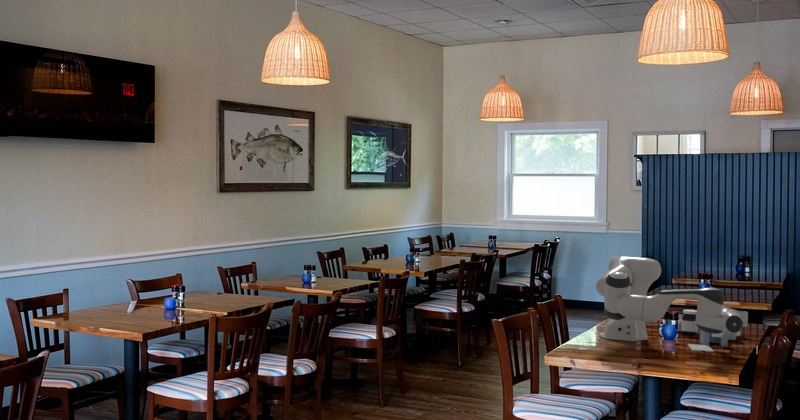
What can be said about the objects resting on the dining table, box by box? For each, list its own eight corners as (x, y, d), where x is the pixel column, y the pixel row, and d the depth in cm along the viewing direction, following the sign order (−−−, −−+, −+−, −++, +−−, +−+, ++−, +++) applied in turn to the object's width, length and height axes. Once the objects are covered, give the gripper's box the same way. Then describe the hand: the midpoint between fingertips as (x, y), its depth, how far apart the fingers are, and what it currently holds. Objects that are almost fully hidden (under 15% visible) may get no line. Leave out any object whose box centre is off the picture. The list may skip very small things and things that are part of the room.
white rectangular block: (716, 329, 347) (714, 303, 352) (711, 336, 356) (710, 311, 361) (725, 330, 346) (724, 304, 351) (721, 337, 355) (719, 311, 360)
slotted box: (703, 345, 365) (703, 328, 365) (699, 341, 375) (700, 324, 375) (727, 346, 363) (728, 329, 363) (723, 342, 373) (723, 325, 373)
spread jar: (695, 336, 389) (696, 312, 389) (671, 333, 395) (672, 310, 395) (700, 332, 399) (701, 309, 399) (677, 330, 405) (678, 307, 405)
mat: (692, 350, 352) (692, 349, 352) (687, 345, 364) (687, 344, 364) (713, 352, 350) (713, 350, 350) (708, 346, 362) (708, 345, 362)
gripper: (700, 324, 340) (694, 319, 353) (750, 326, 336) (743, 321, 349) (700, 309, 339) (694, 305, 353) (751, 312, 336) (743, 307, 349)
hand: (719, 313), depth 351 cm, fingers closed on white rectangular block, 4 cm apart
